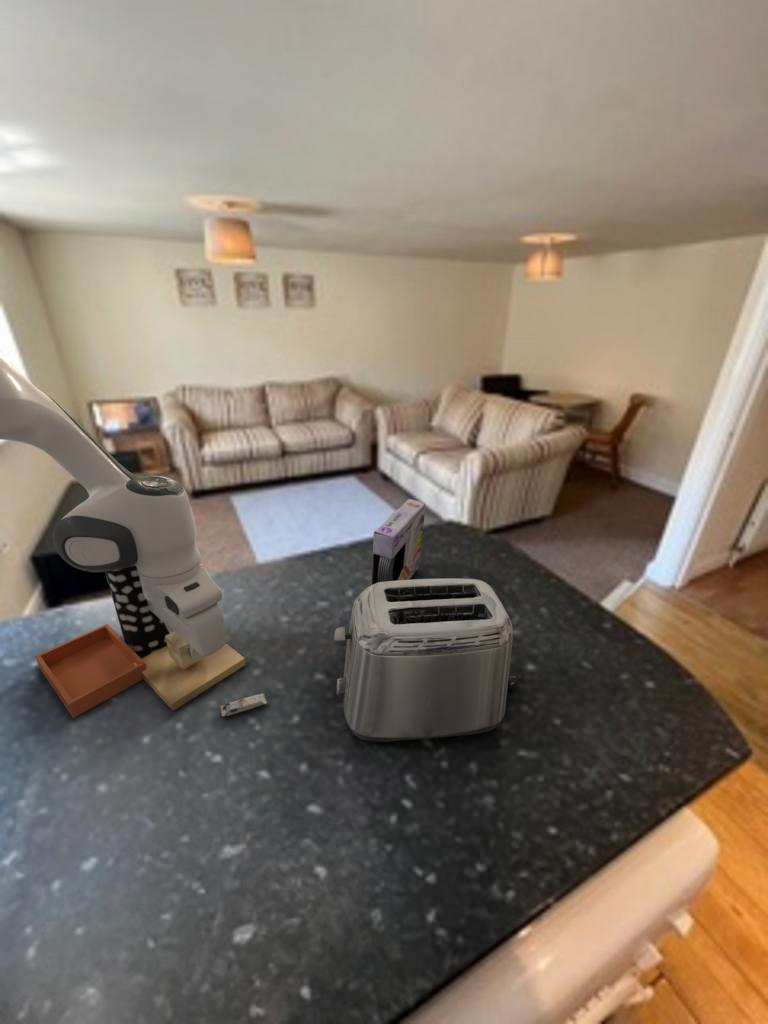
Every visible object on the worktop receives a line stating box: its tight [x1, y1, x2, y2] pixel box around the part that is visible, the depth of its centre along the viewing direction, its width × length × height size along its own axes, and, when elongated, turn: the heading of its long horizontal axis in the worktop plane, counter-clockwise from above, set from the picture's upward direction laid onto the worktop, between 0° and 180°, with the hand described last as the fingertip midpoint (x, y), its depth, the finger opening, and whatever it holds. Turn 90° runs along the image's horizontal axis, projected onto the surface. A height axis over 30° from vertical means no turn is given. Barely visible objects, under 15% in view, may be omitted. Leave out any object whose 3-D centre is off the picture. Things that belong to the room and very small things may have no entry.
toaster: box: [333, 578, 517, 743], centre depth 68 cm, size 17×30×19 cm, turn 95°
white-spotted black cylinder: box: [104, 565, 170, 657], centre depth 78 cm, size 8×8×20 cm
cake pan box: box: [371, 498, 427, 585], centre depth 97 cm, size 19×5×18 cm, turn 155°
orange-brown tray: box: [34, 623, 147, 719], centre depth 74 cm, size 15×11×3 cm
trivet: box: [133, 643, 247, 712], centre depth 76 cm, size 13×13×2 cm
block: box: [165, 632, 204, 670], centre depth 75 cm, size 4×4×4 cm
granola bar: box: [219, 692, 268, 717], centre depth 69 cm, size 7×2×1 cm, turn 113°
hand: (187, 648), depth 75 cm, fingers closed on block, 4 cm apart
